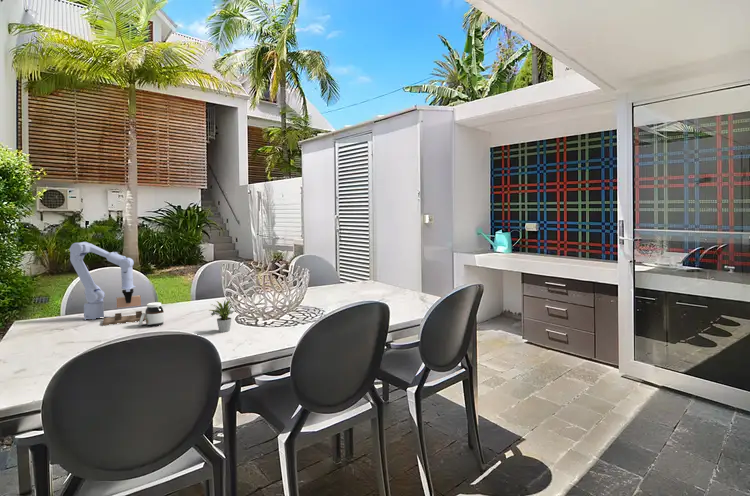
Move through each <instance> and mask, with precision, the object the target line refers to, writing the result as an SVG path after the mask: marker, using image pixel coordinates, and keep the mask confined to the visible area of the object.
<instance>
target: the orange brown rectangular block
mask: <svg viewBox="0 0 750 496" xmlns="http://www.w3.org/2000/svg"><path fill="white" fill-rule="evenodd" d="M141 300H142V298H141V295H139V294H138V295H132V297H131V303H126V300H125V296H117V297H116V308H117V309H118V308H127V307H128V308H129V307H138V306H139V307H140V306H142V301H141Z"/></svg>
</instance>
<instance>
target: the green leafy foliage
mask: <svg viewBox="0 0 750 496" xmlns="http://www.w3.org/2000/svg"><path fill="white" fill-rule="evenodd" d="M226 298H227V297H225V298H224V299H223V301H221V302H220V303H221V304H222V306H224V301H225V305H226V302H227V300H226ZM217 306H218V307H219V304H218V305H217ZM228 307H229V308H230V306H229V305H228ZM215 308H216V309H215V310H217V309H218V308H217V307H215ZM219 308H220V307H219ZM220 309H221V308H220ZM218 310H219V309H218ZM228 310H229V309H228ZM219 311H220V310H219ZM232 311H233V312H232ZM229 312H231V313H230V314H229V315H232V314H234V312H235V311H234V309H233V308H232V307H231V309H230V310H229ZM214 314H215V315H217V314H219V313H217V312H215V313H214ZM219 315H220V314H219Z"/></svg>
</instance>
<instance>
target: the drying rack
mask: <svg viewBox="0 0 750 496" xmlns="http://www.w3.org/2000/svg"><path fill="white" fill-rule="evenodd" d="M142 313H143V311H142V310H140V311H139V310H137V311H135V314H133V315H131V314H130V315H122V312H119V313H118V312H117V313H114V316H112V317H111V316H110V317H105V318H103V321H102V326H103V325H104V326H110V325H109V324H113V325H118V324H117V323H122V324H127V323H126V322H132V323H136V322H135V321H140V318H141V315H142ZM144 320H146V318H145V317H144ZM144 320H143V322H145V321H144Z"/></svg>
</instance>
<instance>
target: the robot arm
mask: <svg viewBox="0 0 750 496" xmlns="http://www.w3.org/2000/svg"><path fill="white" fill-rule="evenodd" d="M68 250H69V252H70V253H69V255H70V257H69V260H70V263H71V265H72V266H73V268H74V270H75V272H76V274H77V276H78V278H79V281H80V282H81V284H82V286H83V287H84V291H83V292H84V295H85V300H86V303H83V304H84V305H83V320H84V321H87V320H86V319H92V320H97V319H96V318H100V317H104V315H105V312H104V311H105V310H104V298H105V297H106V293H105V291H104V290H102V289H101V286H99V285H97V284H96V283H95V281H94V279H93V277H92V275H91V273H90V271H89V269H88V267H87V265H86V264H85V262H84V259H85V256H86V255H87V254H88V253H93V254H95V255H99V256H100V257H103V258H106V260H107V262H110V263H112V264H114V265H116V266H119V267H120V273H121V274H120V275H121V289H122V290H121V293H122V294H123V297H125V300H126V303H131V297H132V296H133V293H134V288H136V287H137V286H136V285H134V273H133V270H134V269H133V266H134V264H135V261H134V259H133V258H131V257H126V256H125V255H122V254H119V253H118V251H112V252H109V251H107V250H106V249H104V248H101V247H99V246H96V244H93V243H90V242H87V241H81V242H74V243H72V244H71V245H70V247H69V248H68Z"/></svg>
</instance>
